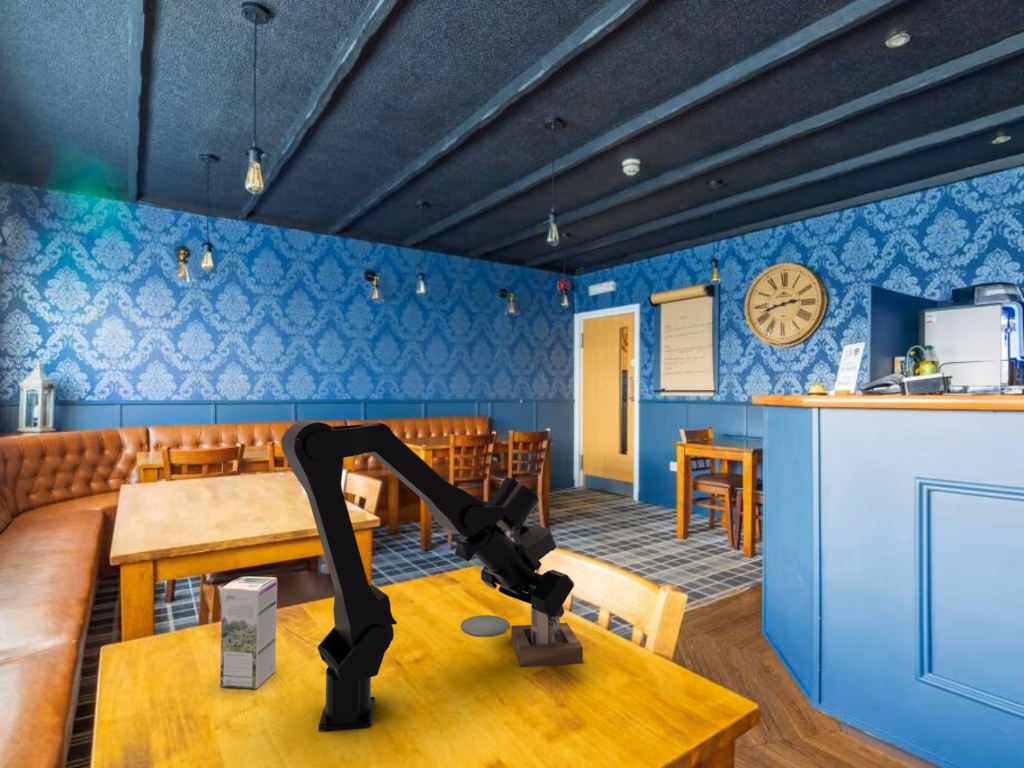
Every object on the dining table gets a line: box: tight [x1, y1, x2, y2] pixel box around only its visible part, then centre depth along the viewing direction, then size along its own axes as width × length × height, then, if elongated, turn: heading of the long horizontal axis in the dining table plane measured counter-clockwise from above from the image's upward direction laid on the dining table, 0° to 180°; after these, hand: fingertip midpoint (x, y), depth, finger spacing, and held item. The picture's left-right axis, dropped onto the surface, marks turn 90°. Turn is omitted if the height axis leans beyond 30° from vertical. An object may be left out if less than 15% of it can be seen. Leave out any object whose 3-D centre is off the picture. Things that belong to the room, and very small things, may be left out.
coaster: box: [460, 614, 510, 638], centre depth 102 cm, size 9×9×1 cm
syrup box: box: [219, 575, 278, 690], centre depth 82 cm, size 6×6×14 cm
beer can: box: [530, 588, 561, 645], centre depth 92 cm, size 5×5×12 cm
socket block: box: [510, 622, 584, 668], centre depth 92 cm, size 10×10×2 cm
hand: (551, 609), depth 93 cm, fingers open, 5 cm apart
